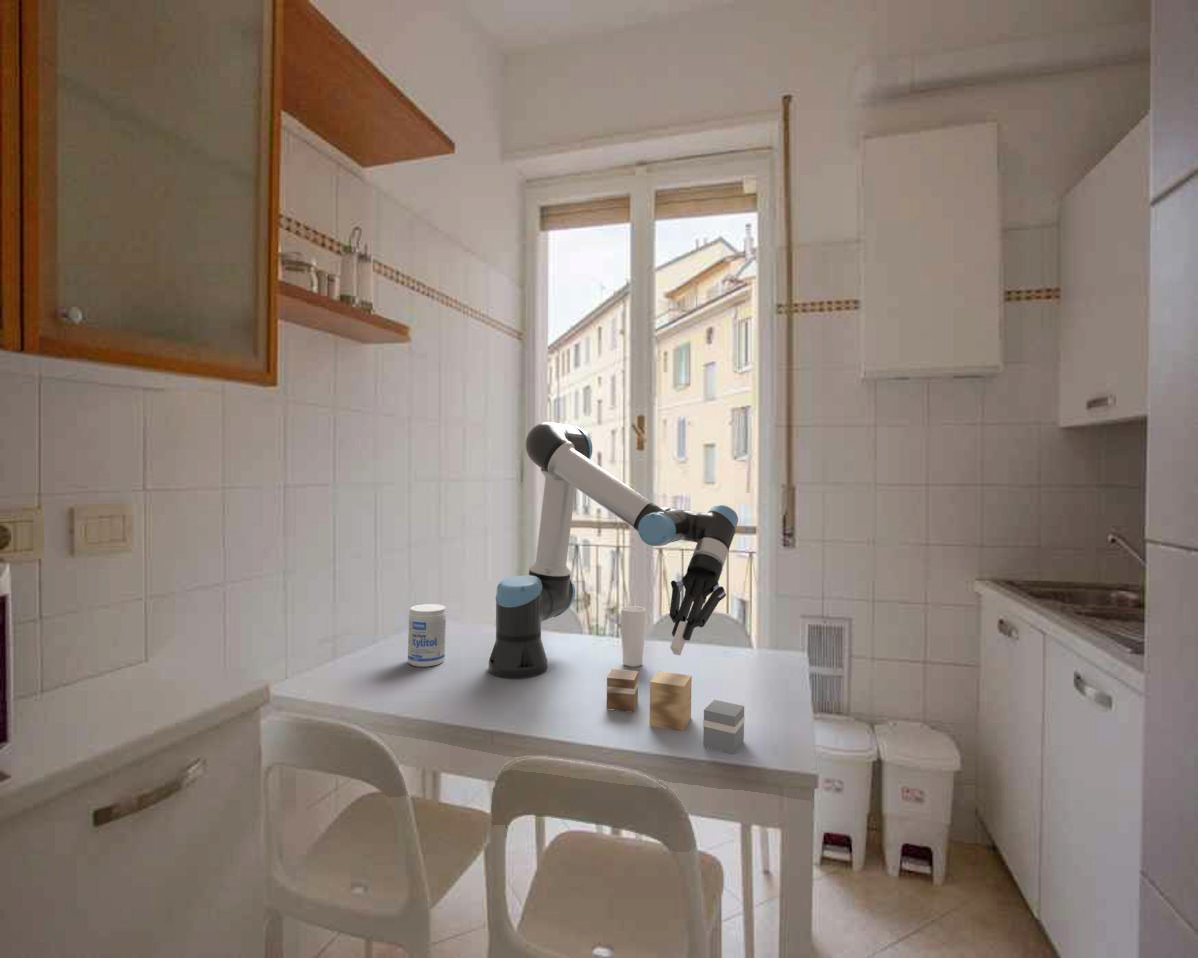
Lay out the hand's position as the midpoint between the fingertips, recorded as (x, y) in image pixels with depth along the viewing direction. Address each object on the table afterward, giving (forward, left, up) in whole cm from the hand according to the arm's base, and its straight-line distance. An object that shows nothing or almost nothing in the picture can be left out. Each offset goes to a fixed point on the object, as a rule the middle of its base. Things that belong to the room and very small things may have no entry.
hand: (675, 651), depth 126 cm
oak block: (0, -2, -14) cm, 14 cm away
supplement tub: (-70, +9, -14) cm, 72 cm away
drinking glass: (-19, +30, -14) cm, 39 cm away
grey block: (+12, -8, -14) cm, 20 cm away
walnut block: (-12, +2, -14) cm, 19 cm away
